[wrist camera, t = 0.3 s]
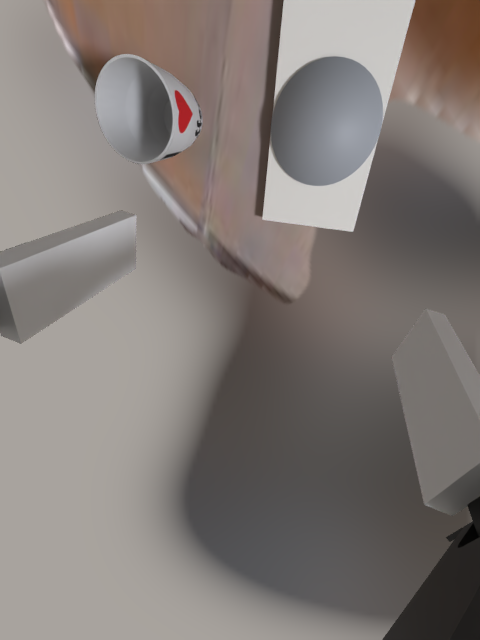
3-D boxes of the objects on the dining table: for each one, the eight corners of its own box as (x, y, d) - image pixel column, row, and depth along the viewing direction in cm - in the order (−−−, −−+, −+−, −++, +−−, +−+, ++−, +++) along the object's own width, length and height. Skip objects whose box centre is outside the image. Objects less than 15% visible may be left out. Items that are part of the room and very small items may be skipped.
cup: (198, 170, 37) (158, 181, 29) (143, 134, 37) (87, 134, 29) (226, 100, 33) (187, 88, 24) (163, 57, 32) (103, 32, 24)
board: (286, -7, 27) (284, -13, 26) (416, -10, 25) (420, -17, 24) (264, 217, 38) (261, 220, 37) (352, 229, 36) (353, 232, 34)
